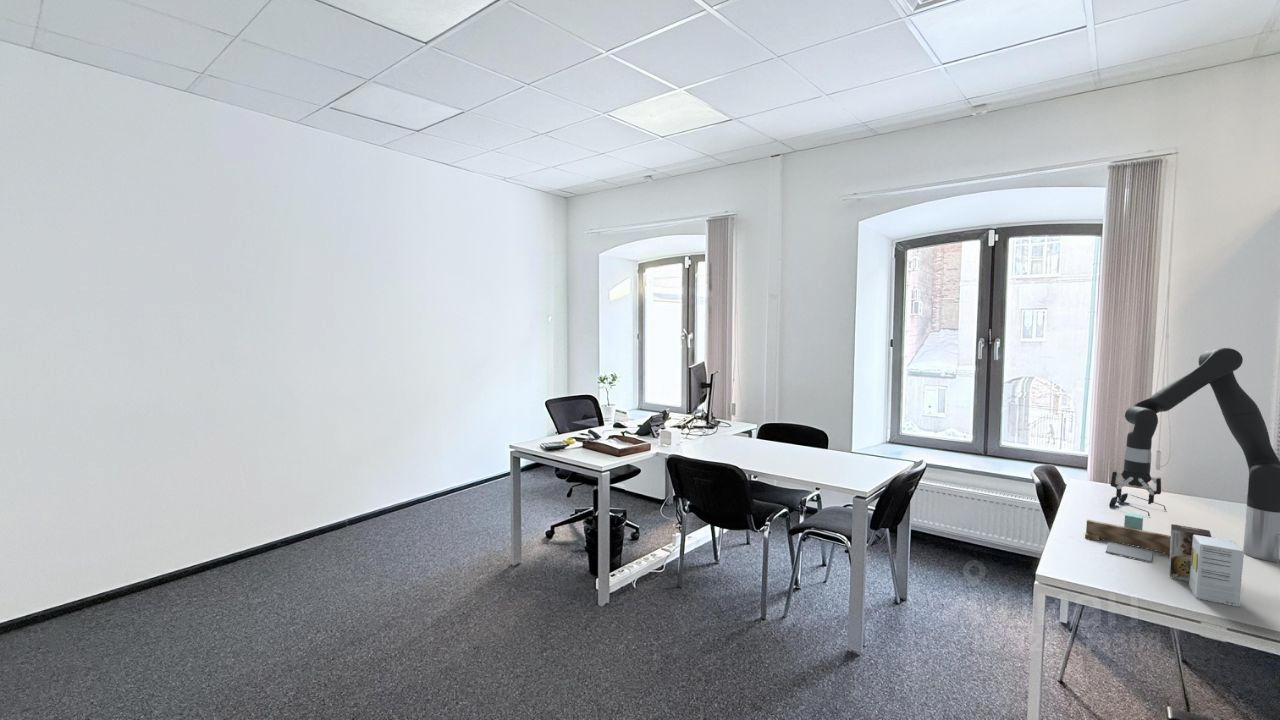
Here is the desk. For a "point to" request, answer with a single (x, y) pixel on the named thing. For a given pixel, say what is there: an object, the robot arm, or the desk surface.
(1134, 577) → the desk surface
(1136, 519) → the teal block
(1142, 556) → the grey mat
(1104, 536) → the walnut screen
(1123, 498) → the sunglasses
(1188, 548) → the coffee box
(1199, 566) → the supplement box
